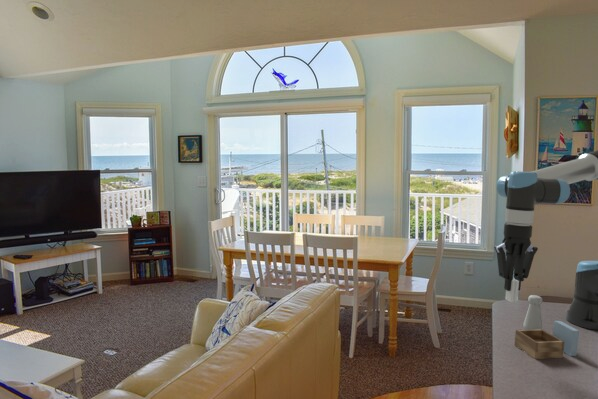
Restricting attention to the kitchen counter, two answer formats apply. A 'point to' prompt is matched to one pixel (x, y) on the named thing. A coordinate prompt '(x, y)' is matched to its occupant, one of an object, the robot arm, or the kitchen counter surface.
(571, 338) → the pale blue lid slab
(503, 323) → the kitchen counter surface
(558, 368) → the kitchen counter surface
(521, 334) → the open wooden crate
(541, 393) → the kitchen counter surface
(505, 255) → the robot arm
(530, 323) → the salt shaker
